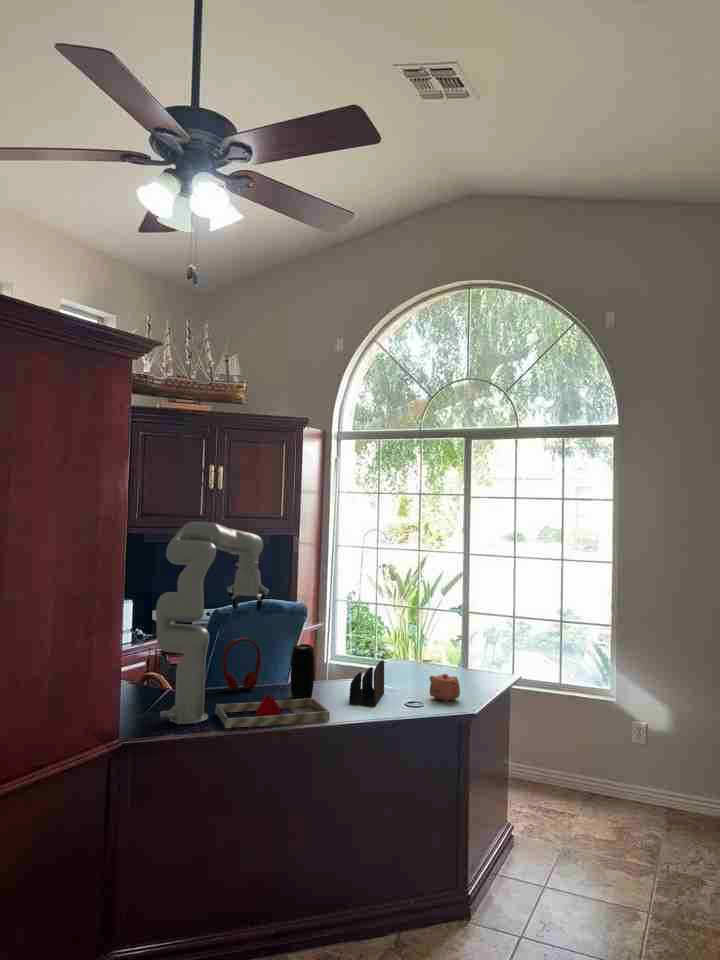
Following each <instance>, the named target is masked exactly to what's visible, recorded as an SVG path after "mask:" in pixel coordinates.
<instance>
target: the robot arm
mask: <svg viewBox="0 0 720 960" xmlns="http://www.w3.org/2000/svg"><path fill="white" fill-rule="evenodd" d="M166 547H167V548H166V550H165V551H166V552H165V553H166V555H165V556H166V559H167V561H168V562H169V563H171V564H172V565H177V566H178V565H179V566H181V565H182V566H185V567H184V569H183V570H182V571H181V572H180V574H179V576H178V578H177V592H176V591H166V592H164V593H162V594H160V596H159V598H158V600H157V602H156V606H155V621H156V624H155V625H156V641H157V645H158V648H159V649H160V650H161V651H162V652H168V653H176V654H177V653H178V654H183V656H182V657H181V658H180V659H179V661H178V663H177V666H176V671H175V672H176V673H175V675H176V676H175V699H174V705H172V706H171V707H172V708H170V709H169V710H160V713H159V715H160V717H161V718H166V717H167V719H168V718H169V721H170V723H172V722H174V723H177V724H176V725H179V724H189V723H197V722H202V721H205V720H207V719H208V720H209V715H208V713H205V691H206V690H205V687H206V686H205V685H206V665H207V664H206V662H207V661H206V660H207V653H208V649H209V643H210V639H211V638H210V637H211V636H210V633H209V631H208V629H207V628H205V627H203V626H201V625H197V624H187V623H197V622H199V621H201V620H202V619H203V616H204V612H205V604H204V603H205V601H204V600H205V599H204V598H205V595H204V594H205V592H204V583H205V582H204V581H205V577H206V574H207V573H208V570H209V568H210V567H211V565H212V564H213V562H214V561H215V558H216V555H217V550H219V551H223V552H228V553H229V554H231V555H238V557H239V558H238V562H235V567H238V569H236V570H235V577H234V582H233V584H231V585H229V586H227V587H226V590H227V593H228V595H229V596H230V597H231V600H232V605H231V606H232V609H233V610H237V609H239V599H238V597H239V596H243V597H245V596H247V597H255V598H256V599H257V600H256V612H260V611H261V610H262V608H263V600H264V599H265V598H267V596H268V594H269V592H270V589H268V588H267V587H265V586H264V585H263V584H262V581H261V580H262V579H261V576H262V575H261V571H260V569H259V556H260V554H261V553H262V551H263V550H264V542H263V539H262V538H261V536H259V535H257V534H255V533H251V532H247V531H242V530H239V529H234V528H229V527H226V526H224V525H221V524H218V523H216V522H209V521H208V522H207V521H190V522H188V523H186V524H185V525H183V526H182V527H181V528H180V529H179V530H178V532H177V533H176V534H175V536H174V537H173V538H172V539H171V540H170V542H169V543H168V544H167V546H166ZM232 589H233V590H232ZM262 591H263V594H261V592H262ZM176 622H183V623H185V624H183V623H176ZM208 720H207V721H208ZM174 723H173V724H174Z"/></svg>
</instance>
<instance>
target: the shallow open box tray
mask: <svg viewBox="0 0 720 960" xmlns="http://www.w3.org/2000/svg"><path fill="white" fill-rule="evenodd" d="M261 702H262V701H256V702H243V703H242V702H241V703H238V702H234V703H232V702H231V703H216V704H215V715H216V714H217V715H218V717H219V718H220V720H221V721H222V723H223V724H224V726H225V728H231V727H248V728H257V726H259V727H268V726H279V725H280V726H282V725H292V724H303V723H304V722H305V723H314V721H317V722H327V720H329V721H330V715H331V714H330V710H329V709H327V708H326V707H325V706H324V705H323V704H321V702H320V701H318V700H317V699H316V698H315V697H312V698H304V699H284V700H283V699H282V700H280V699H279V700H275V702H276V704H277V705H278V706H279V709H282V710H286V709H285V708H288V709H287V710H288V711H290V713H289V714H287V713H286V714H280V715H273V716H261V717H254V716H251V717H250V716H243V717H242V716H241V717H240V716H239V717H231V718H229V717H228V714H225V712H226V713H227V712H242V711H256V710H258V708H259V706H260V704H261ZM256 712H257V711H256ZM217 715H216V716H217ZM218 717H217V718H218ZM220 720H219V721H220ZM325 720H326V721H325ZM222 723H221V724H222ZM305 723H304V724H305ZM224 726H223V727H224ZM255 726H256V727H255ZM225 728H224V729H225Z"/></svg>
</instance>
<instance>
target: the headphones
mask: <svg viewBox="0 0 720 960" xmlns="http://www.w3.org/2000/svg"><path fill="white" fill-rule="evenodd" d="M242 641H244V642H250V643H251V644H252V645H253V646H254V647H255V650H256V661H255V669H254V670H250V671H249V672H247V673H246V675H245V676H244V678H243V681H242V687H243V688H244V689H245V690H250V689H251V690H253V689H254V687H256V684H257V682H258V679H259V678H258V677H259V673H260V669H259V668H260V667H261V651H260V647H259V646H258V645H257V643H256V642H254V641H253V640H251V639H249V638H246V637H245V638H244V637H239V638H238V637H237V638H236V639H234V640H232V641H230V642H229V643H228V644H227V646H226V647H225V648H224V651H223V653H222V661H221V665H222V666H221V668H222V670H223V672H222V675H223V679H224V682H225V684H226V686H227V688H228V689H229V690H230V691H231V690H232V691H231V692H233V691H234V690H235V692H236V691H237V690H238V689H239V684H238V681H237V679H236V678H235V676H234V675H233V674H232V673H231V672H228V671H227V669H228V666H227V664H226V661H227V660H226V659H227V653H228V652H229V650H230V648H231V647H232V646H234V645H236V643H238V642H242ZM227 672H228V673H227ZM233 689H234V690H233Z"/></svg>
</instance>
